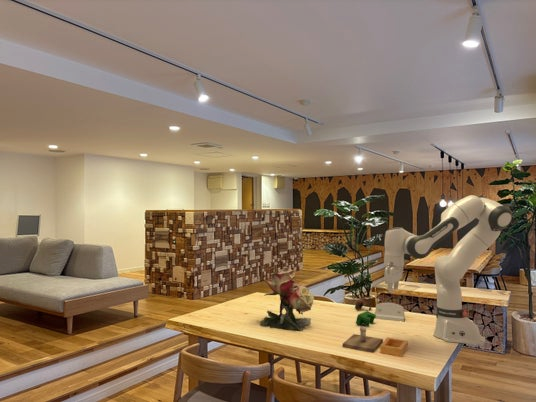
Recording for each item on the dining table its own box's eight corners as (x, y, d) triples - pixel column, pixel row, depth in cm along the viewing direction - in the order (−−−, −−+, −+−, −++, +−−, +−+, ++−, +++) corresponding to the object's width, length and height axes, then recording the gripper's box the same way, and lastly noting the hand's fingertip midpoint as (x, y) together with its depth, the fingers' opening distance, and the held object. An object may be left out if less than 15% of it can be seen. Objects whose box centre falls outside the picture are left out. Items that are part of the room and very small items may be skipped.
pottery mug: (356, 307, 253) (362, 296, 252) (368, 316, 247) (375, 305, 247) (350, 306, 243) (356, 295, 243) (362, 315, 237) (369, 303, 237)
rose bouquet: (310, 332, 199) (310, 272, 200) (256, 326, 208) (256, 270, 209) (320, 319, 223) (320, 266, 224) (271, 314, 233) (271, 263, 233)
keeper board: (382, 342, 184) (382, 324, 184) (373, 352, 170) (373, 333, 171) (353, 337, 191) (353, 320, 192) (342, 347, 177) (342, 328, 178)
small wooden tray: (407, 347, 177) (407, 340, 177) (401, 356, 166) (401, 349, 166) (387, 343, 182) (387, 337, 182) (380, 352, 170) (380, 345, 171)
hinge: (373, 318, 225) (374, 300, 228) (374, 319, 229) (375, 301, 232) (404, 322, 218) (404, 303, 221) (405, 322, 222) (405, 304, 225)
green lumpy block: (365, 334, 210) (366, 321, 206) (355, 329, 214) (356, 316, 210) (376, 321, 217) (377, 309, 214) (367, 317, 221) (367, 304, 217)
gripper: (395, 264, 175) (394, 295, 175) (405, 260, 193) (404, 288, 192) (381, 263, 178) (380, 293, 178) (392, 259, 196) (391, 286, 196)
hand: (393, 291), depth 185 cm, fingers open, 8 cm apart
